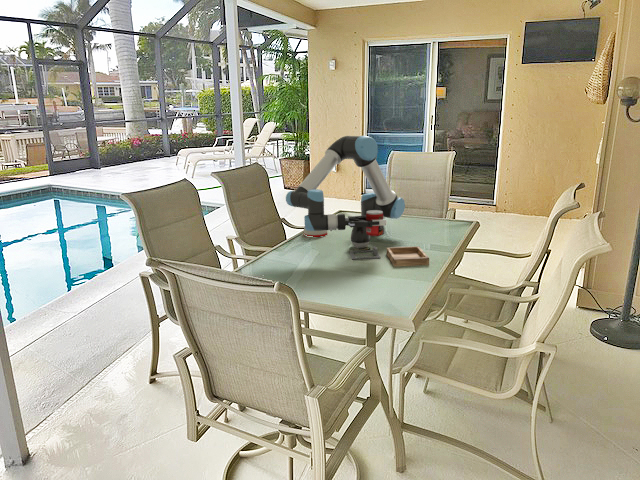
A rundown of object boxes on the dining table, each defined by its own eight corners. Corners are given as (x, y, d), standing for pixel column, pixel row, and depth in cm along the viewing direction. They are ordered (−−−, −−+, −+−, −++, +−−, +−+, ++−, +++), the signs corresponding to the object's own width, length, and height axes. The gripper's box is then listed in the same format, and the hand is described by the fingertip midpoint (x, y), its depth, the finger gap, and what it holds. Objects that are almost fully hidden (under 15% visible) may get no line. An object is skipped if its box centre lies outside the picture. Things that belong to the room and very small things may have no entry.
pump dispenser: (373, 245, 258) (373, 217, 254) (366, 250, 249) (366, 221, 245) (355, 243, 262) (354, 215, 258) (347, 248, 253) (347, 220, 249)
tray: (386, 254, 242) (386, 247, 241) (418, 252, 242) (418, 246, 241) (394, 266, 222) (394, 259, 221) (429, 264, 223) (429, 257, 222)
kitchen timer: (330, 236, 279) (329, 210, 275) (306, 238, 276) (305, 212, 272) (324, 231, 292) (323, 206, 288) (301, 233, 289) (300, 208, 285)
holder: (349, 251, 248) (349, 245, 247) (376, 250, 248) (376, 244, 247) (352, 259, 234) (351, 252, 233) (380, 258, 235) (380, 251, 234)
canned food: (382, 236, 230) (382, 213, 227) (365, 235, 232) (365, 213, 229) (383, 232, 237) (383, 210, 235) (367, 232, 239) (367, 209, 236)
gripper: (336, 225, 244) (381, 223, 244) (338, 235, 224) (388, 233, 224) (335, 210, 242) (381, 208, 242) (337, 219, 222) (388, 217, 222)
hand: (384, 220), depth 233 cm, fingers closed on canned food, 8 cm apart
